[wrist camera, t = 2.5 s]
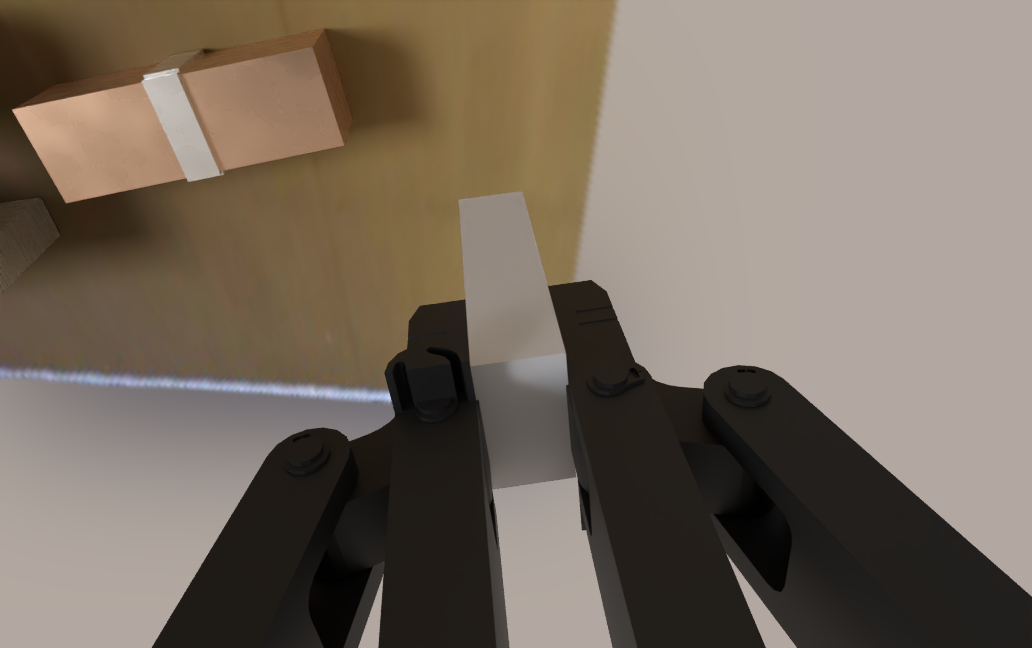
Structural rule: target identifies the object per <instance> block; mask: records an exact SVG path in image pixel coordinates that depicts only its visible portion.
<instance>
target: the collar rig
mask: <svg viewBox="0 0 1032 648" xmlns="http://www.w3.org/2000/svg"><path fill="white" fill-rule="evenodd" d="M59 236H60V233H59V231H58V229H57V227H56V226H55V224H54V222H53V220H52V218H51V216H50V214H49V212H48V210H47V208H46V206H45V204H44V202H43V200H42V198H41V197H36V198H29V199H22V200H15V201H7V202H0V295H1V294H2V293H3V292H4V291H5V290H6V289H7V288H8V287H9V286H10V285H11V284H12V283H13V282H14V281H15V280H16V279H17V278H18V277H19V276H20V275H21V274H22V273H23V272H24V271H25V270H26V269H27V268H28V267H29V266H30V265H31V264H32V263H33V262H34V261H35V260H36V259H37V258H38V257H39V256H40V255H41V254H42V253H43V252H44V251H45V250H46V249H47V248H48V247H49V246H50V245H51V244H52V243H53V242H54V241H55V240H56V239H57V238H58V237H59Z"/></svg>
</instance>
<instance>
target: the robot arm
mask: <svg viewBox="0 0 1032 648" xmlns="http://www.w3.org/2000/svg"><path fill="white" fill-rule="evenodd" d="M459 212H460V227H461V241H462V256H463V270H464V284H465V299H466V300H459V301H451V302H444V303H437V304H430V305H423V306H420V307H419V308H418V309H417V311H416V312H415V313H414V315H413V316H412V318H411V319H410V320H409V329H408V346H407V349H406V350H404V351H402V352H400V353H398V354H397V355H396V356H395V357H394V358H393V359H392V360H391V361H390V362H389V363H388V365H387V368H386V370H385V377H386V381H387V385H388V389H389V392H390V396H391V400H392V404H393V408H394V411H395V417H394V419H392V420H391V421H390V422H389V423H388V424H386V425H385V426H383V427H382V428H380V429H379V430H376V431H374V432H372V433H370V434H368V435H365V436H362V437H360V438H357V439H355V440H352V441H348V439H347V436H345V435H344V434H342V433H341V432H339V431H338V430H334V429H328V428H316V429H307V430H304V431H302V432H299V433H296V434H294V435H291V436H290V437H288V438H287V439H285V440H283V441H282V442H281V443H279V444H277V445H276V447H275V448H274V449H273V450H272V451H271V452H270V453H269V455H268V456H267V457H266V459H265V461H264V462H263V464H262V466H261V467H260V469H259V471H258V472H257V474H256V475H255V477H254V479H253V480H252V482H251V484H250V485H249V487H248V489H247V491H246V492H245V494H244V496H243V497H242V499H241V500H240V502H239V504H238V506H237V507H236V509H235V510H234V512H233V514H232V515H231V517H230V519H229V520H228V522H227V524H226V525H225V527H224V529H223V530H222V532H221V534H220V535H219V537H218V539H217V540H216V542H215V543H214V545H213V547H212V548H211V550H210V552H209V553H208V555H207V557H206V558H205V560H204V562H203V563H202V565H201V567H200V569H199V570H198V572H197V573H196V575H195V577H194V578H193V580H192V582H191V583H190V585H189V587H188V588H187V590H186V592H185V593H184V595H183V597H182V598H181V600H180V602H179V603H178V605H177V607H176V608H175V610H174V611H173V613H172V615H171V616H170V618H169V620H168V621H167V623H166V625H165V626H164V628H163V630H162V632H161V633H160V635H159V636H158V638H157V640H156V641H155V643H154V645H153V646H152V648H358V646H359V643H360V640H361V637H362V634H363V631H364V628H365V626H366V623H367V620H368V617H369V614H370V611H371V608H372V606H373V603H374V600H375V597H376V594H377V591H378V588H379V585H380V582H381V580H382V577H383V574H384V578H383V592H382V605H381V620H380V633H379V647H378V648H509V640H508V629H507V619H506V609H505V598H504V588H503V579H502V567H501V558H500V547H499V537H498V527H497V516H496V509H495V504H494V499H493V492H492V489H499V488H506V487H513V486H519V485H525V484H533V483H540V482H546V481H553V480H560V479H567V478H573V477H576V472H577V477H578V487H579V498H580V511H581V524H582V530H586V531H587V535H588V540H589V544H590V549H591V553H592V558H593V562H594V567H595V571H596V575H597V580H598V584H599V589H600V593H601V598H602V602H603V607H604V611H605V616H606V620H607V625H608V629H609V634H610V638H611V642H612V647H613V648H766V647H765V645H764V642H763V640H762V638H761V635H760V633H759V630H758V628H757V626H756V624H755V621H754V619H753V616H752V614H751V611H750V609H749V607H748V605H747V602H746V600H745V597H744V595H743V592H742V590H741V588H740V585H739V583H738V581H737V578H736V576H735V574H734V571H733V569H732V566H731V564H730V562H729V559H728V557H727V555H728V556H729V557H730V559H731V560H732V561H733V563H734V564H735V565H736V567H737V568H738V569H739V571H740V572H741V573H742V575H743V576H744V577H745V579H746V580H747V581H748V583H749V584H750V585H751V587H752V588H753V590H754V591H755V592H756V593H757V595H758V596H759V598H760V599H761V600H762V601H763V603H764V604H765V606H766V607H767V608H768V610H769V611H770V612H771V613H772V615H773V616H774V618H775V619H776V620H777V621H778V623H779V624H780V626H781V627H782V628H783V630H784V631H785V632H786V634H787V635H788V636H789V637H790V639H791V640H792V641H793V643H794V644H795V645H796V647H797V648H1032V596H1030V595H1029V594H1028V593H1027V592H1026V591H1025V590H1023V589H1022V588H1021V587H1020V586H1019V585H1018V584H1017V583H1016V582H1014V581H1013V580H1012V579H1011V578H1010V577H1009V576H1008V575H1006V574H1005V573H1004V572H1003V571H1002V570H1001V569H1000V568H998V567H997V566H996V565H995V564H994V563H993V562H992V561H991V560H989V559H988V558H987V557H986V556H985V555H984V554H983V553H981V552H980V551H979V550H978V549H977V548H976V547H975V546H973V545H972V544H971V543H970V542H969V541H968V540H967V539H965V538H964V537H963V536H962V535H961V534H960V533H959V532H957V531H956V530H955V529H954V528H953V527H952V526H951V525H949V524H948V523H947V522H946V521H945V520H944V519H943V518H942V517H940V516H939V515H938V514H937V513H936V512H935V511H934V510H932V509H931V508H930V507H929V506H928V505H927V504H926V503H924V502H923V501H922V500H921V499H920V498H919V497H918V496H916V495H915V494H914V493H913V492H912V491H911V490H909V489H908V488H907V487H906V486H905V485H904V484H903V483H902V482H900V481H899V480H898V479H897V478H896V477H895V476H894V475H893V474H891V473H890V472H889V471H888V470H887V469H886V468H884V467H883V466H882V465H881V464H880V463H879V462H878V461H877V460H875V459H874V458H873V457H872V456H871V455H870V454H869V453H867V452H866V451H865V450H864V449H863V448H862V447H861V446H859V445H858V444H857V443H856V442H855V441H854V440H852V439H851V438H850V437H849V436H848V435H847V434H846V433H845V432H844V431H842V430H841V429H840V428H839V427H838V426H837V425H836V424H834V423H833V422H832V421H831V420H830V419H829V418H828V417H826V416H825V415H824V414H823V413H822V412H821V411H820V410H818V409H817V408H816V407H815V406H814V405H813V404H812V403H810V402H809V401H808V400H807V399H806V398H805V397H804V396H802V395H801V394H800V393H799V392H798V391H797V390H796V389H795V388H793V387H792V386H791V385H790V384H789V383H788V382H786V381H785V380H784V379H783V378H781V377H780V376H778V375H776V374H775V373H773V372H771V371H769V370H765V369H762V368H758V367H755V366H741V365H737V366H732V367H726V368H722V369H720V370H718V371H716V372H714V373H712V374H711V375H710V376H709V377H708V378H707V380H706V381H705V382H704V389H699V388H687V387H677V386H671V385H666V384H663V383H660V382H657V381H655V380H653V379H652V377H651V375H650V374H649V373H648V371H647V370H646V369H645V368H644V367H643V366H641V365H639V364H637V363H636V362H635V360H634V358H633V356H632V353H631V350H630V348H629V346H628V343H627V341H626V338H625V336H624V333H623V331H622V328H621V326H620V323H619V321H618V320H617V316H616V314H615V311H614V309H613V306H612V304H611V301H610V299H609V296H608V294H607V292H606V291H605V290H604V289H603V288H601V287H600V286H598V285H597V284H596V283H594V282H593V281H592V280H588V281H582V282H574V283H567V284H560V285H553V286H548V285H547V281H546V278H545V274H544V270H543V266H542V263H541V259H540V255H539V252H538V248H537V244H536V240H535V237H534V233H533V229H532V226H531V222H530V218H529V215H528V211H527V207H526V203H525V200H524V196H523V192H522V191H519V192H511V193H504V194H497V195H489V196H482V197H475V198H468V199H460V200H459ZM575 468H576V472H575ZM726 553H727V555H726Z"/></svg>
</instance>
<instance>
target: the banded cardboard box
mask: <svg viewBox="0 0 1032 648" xmlns="http://www.w3.org/2000/svg"><path fill="white" fill-rule="evenodd" d="M12 111H13V113H14V114H15V116H16V118H17V119H18V121H19V123H20V125H21V126H22V128H23V130H24V131H25V133H26V135H27V137H28V138H29V140H30V142H31V144H32V145H33V147H34V149H35V150H36V152H37V154H38V156H39V157H40V159H41V161H42V163H43V164H44V166H45V168H46V169H47V171H48V173H49V175H50V176H51V178H52V180H53V181H54V183H55V185H56V187H57V188H58V190H59V192H60V194H61V195H62V197H63V199H64V200H65V202H66V203H69V202H74V201H79V200H84V199H88V198H93V197H98V196H103V195H108V194H113V193H117V192H122V191H127V190H132V189H137V188H142V187H146V186H151V185H156V184H161V183H166V182H171V181H175V180H180V179H185V178H187V181H188V182H190V181H196V180H200V179H205V178H210V177H215V176H220V175H224V174H225V172H226V171H227V170H229V169H233V168H238V167H243V166H248V165H253V164H257V163H262V162H267V161H272V160H277V159H282V158H286V157H291V156H296V155H301V154H306V153H311V152H315V151H320V150H325V149H330V148H335V147H340V146H344V145H345V141H346V138H347V135H348V132H349V129H350V125H351V122H352V116H351V112H350V109H349V106H348V103H347V99H346V96H345V93H344V90H343V86H342V83H341V80H340V77H339V73H338V70H337V67H336V64H335V60H334V57H333V54H332V51H331V47H330V44H329V41H328V38H327V34H326V31H325V29H320V30H315V31H310V32H305V33H301V34H296V35H291V36H286V37H281V38H277V39H272V40H267V41H262V42H258V43H253V44H248V45H243V46H238V47H234V48H229V49H224V50H219V51H214V52H210V53H205V54H204V51H203V49H199V50H194V51H189V52H184V53H179V54H175V55H171V56H169V57H168V58H166V59H165V60H164V61H162V62H161V63H157V64H152V65H147V66H143V67H138V68H133V69H128V70H123V71H119V72H114V73H109V74H104V75H100V76H95V77H90V78H85V79H80V80H76V81H71V82H66V83H61V84H56V85H54V86H52V87H50V88H49V89H47V90H45V91H43V92H42V93H40V94H38V95H36V96H35V97H33V98H31V99H30V100H28V101H26V102H24V103H23V104H21V105H19V106H17V107H16V108H14V109H12Z"/></svg>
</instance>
